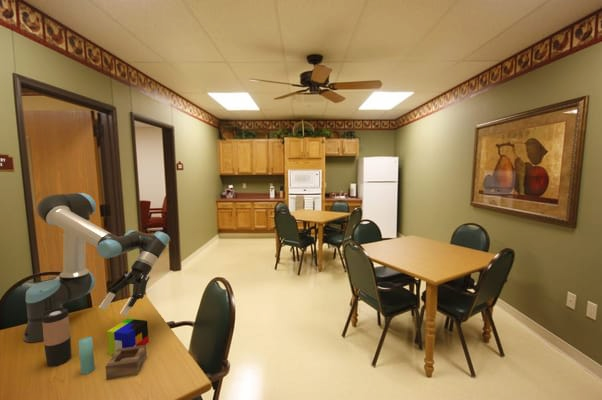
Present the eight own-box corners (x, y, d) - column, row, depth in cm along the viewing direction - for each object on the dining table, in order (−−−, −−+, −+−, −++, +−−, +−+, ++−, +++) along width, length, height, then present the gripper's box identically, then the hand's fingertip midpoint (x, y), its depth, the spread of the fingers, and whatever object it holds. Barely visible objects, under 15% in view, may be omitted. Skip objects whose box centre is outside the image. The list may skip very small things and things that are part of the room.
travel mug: (42, 370, 100) (37, 319, 98) (50, 358, 107) (45, 310, 105) (68, 363, 104) (64, 314, 102) (74, 352, 110) (70, 305, 109)
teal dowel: (84, 367, 101) (82, 337, 100) (96, 365, 102) (94, 335, 101) (78, 375, 97) (76, 343, 96) (91, 373, 98) (88, 342, 97)
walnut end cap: (118, 361, 105) (117, 348, 104) (146, 356, 107) (146, 345, 106) (106, 379, 95) (105, 366, 94) (137, 374, 97) (136, 361, 97)
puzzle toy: (129, 357, 107) (128, 333, 106) (108, 354, 109) (107, 331, 108) (148, 342, 116) (147, 320, 116) (129, 340, 118) (127, 318, 118)
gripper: (169, 270, 117) (139, 320, 104) (132, 264, 127) (101, 309, 115) (157, 262, 111) (124, 314, 99) (120, 257, 122) (85, 303, 109)
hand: (111, 311), depth 107 cm, fingers open, 13 cm apart
